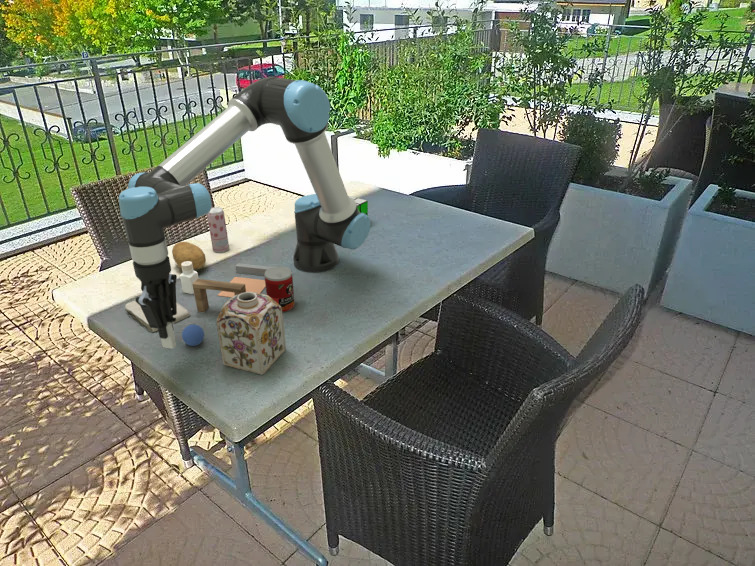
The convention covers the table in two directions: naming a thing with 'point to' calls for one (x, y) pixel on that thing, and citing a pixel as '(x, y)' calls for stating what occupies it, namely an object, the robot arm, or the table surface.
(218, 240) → the beverage can
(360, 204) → the puzzle cube
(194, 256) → the potato
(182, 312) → the washcloth
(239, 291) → the bridge
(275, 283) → the canned food
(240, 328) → the decorative jar
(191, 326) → the ball
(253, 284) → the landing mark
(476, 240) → the table surface
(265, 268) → the grey long bar
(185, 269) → the salt shaker
